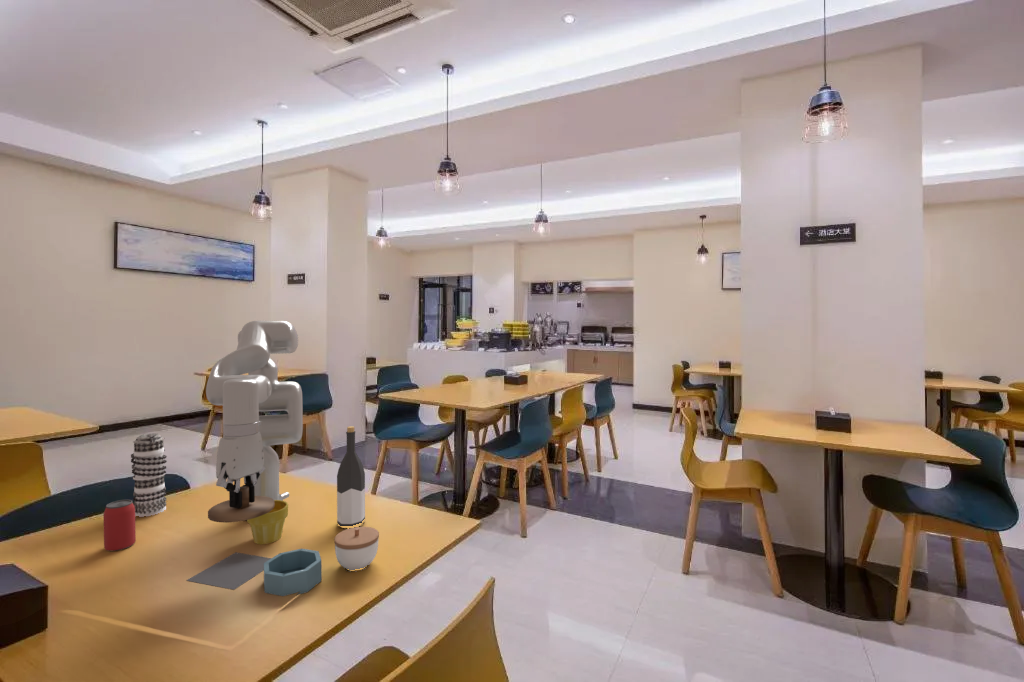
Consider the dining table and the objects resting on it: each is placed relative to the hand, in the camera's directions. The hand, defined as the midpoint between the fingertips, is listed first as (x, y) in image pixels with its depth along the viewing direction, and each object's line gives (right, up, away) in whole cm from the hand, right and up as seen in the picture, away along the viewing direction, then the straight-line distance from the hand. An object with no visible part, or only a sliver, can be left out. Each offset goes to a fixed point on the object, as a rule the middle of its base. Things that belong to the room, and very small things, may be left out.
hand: (242, 503), depth 113 cm
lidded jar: (+26, -18, +5) cm, 32 cm away
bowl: (+14, -18, -3) cm, 23 cm away
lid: (0, -2, 0) cm, 2 cm away
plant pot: (-3, -17, +18) cm, 25 cm away
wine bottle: (+16, -17, +29) cm, 38 cm away
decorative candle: (-52, -16, +37) cm, 66 cm away
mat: (-3, -17, +1) cm, 18 cm away
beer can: (-42, -17, +14) cm, 47 cm away
